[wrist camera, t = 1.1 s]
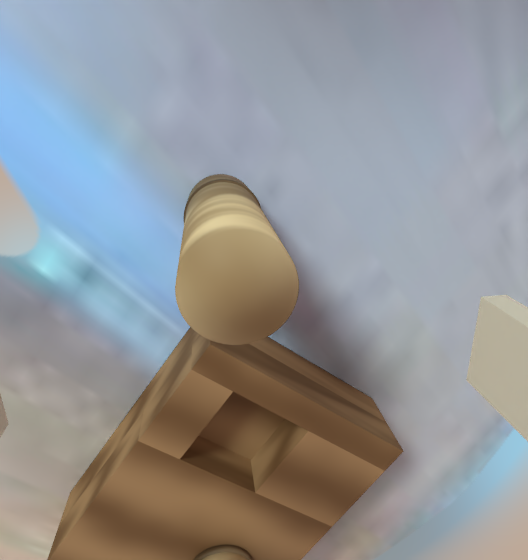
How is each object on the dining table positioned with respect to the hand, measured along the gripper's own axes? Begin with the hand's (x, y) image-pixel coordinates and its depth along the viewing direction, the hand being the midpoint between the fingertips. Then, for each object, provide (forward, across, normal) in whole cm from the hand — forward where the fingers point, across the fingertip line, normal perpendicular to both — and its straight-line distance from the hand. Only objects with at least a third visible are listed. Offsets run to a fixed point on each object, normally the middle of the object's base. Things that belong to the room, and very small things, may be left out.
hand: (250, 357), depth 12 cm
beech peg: (+18, 0, 0) cm, 18 cm away
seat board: (+18, -1, -19) cm, 26 cm away
